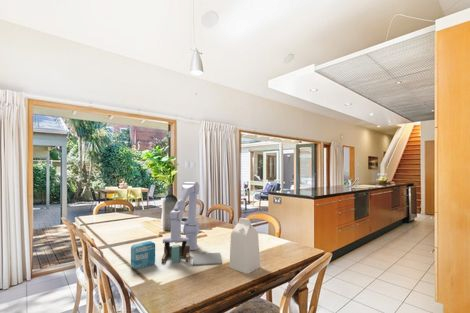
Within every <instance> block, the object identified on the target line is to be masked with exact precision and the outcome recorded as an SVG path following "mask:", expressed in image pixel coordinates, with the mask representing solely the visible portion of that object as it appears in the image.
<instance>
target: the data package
mask: <svg viewBox="0 0 470 313" xmlns="http://www.w3.org/2000/svg"><path fill="white" fill-rule="evenodd" d="M155 263H156V243H155V242H153V241H150V240H148V241H144V242H139V243H136V244H135V243H134V244H132V245H131V247H130V267H132V269H134V270H139V269H143V268H145V267H149V266H153V265H154V264H155Z"/></svg>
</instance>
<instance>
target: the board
mask: <svg viewBox="0 0 470 313" xmlns="http://www.w3.org/2000/svg"><path fill="white" fill-rule="evenodd" d="M192 259H193V260H192V267H194V266H209V265H211V266H212V264H213V265H214V264H215V265H222V256H221V252H206V253H204V252H203V253H193V258H192Z"/></svg>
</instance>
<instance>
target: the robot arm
mask: <svg viewBox="0 0 470 313" xmlns="http://www.w3.org/2000/svg"><path fill="white" fill-rule="evenodd" d="M181 185H182V186H181V190H182V191H181V195H180V197H179V199H178V200H177V201H176V203H175V205H174V206H173V209H172V210H170V212H169V213H168V219H169V224H170V237H169V238H163V239H162V244H164V247H166V249H167V252H168V256H169V255H170V246H171V244H172V243H181V246H182V255H183V252H184V248H185V246H186V245H190V251H198V247H199V246H198V235H199V233H200V232H201V231H200V227H201V226H200V222H199V221H198V220H196V214H197V197H198V195H199V193H200V184H199V182H198V181H184V182H182V184H181ZM187 199H188V211H187V212H188V214H187V220H186V221H184V224H183V228H182V220H183V216H184V210H185V207H186V205H187V203H186V201H187ZM182 232H183V234H184V235H185V237H182Z"/></svg>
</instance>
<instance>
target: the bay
mask: <svg viewBox="0 0 470 313" xmlns="http://www.w3.org/2000/svg"><path fill="white" fill-rule="evenodd" d="M172 246H173V245H170V255H169V256H168V252H167V249H166V247H165V246H164V247H163V252H164V253H163V254H162V257H161V264H165V262H166V260H167V258H172ZM190 251H191V250H190V245H186V246H185V248H184V252H183V255H182V245H180V258H182V257H185V262H186V263H189V261H190V257H191V256H190V255H191V254H190V253H191V252H190Z"/></svg>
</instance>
